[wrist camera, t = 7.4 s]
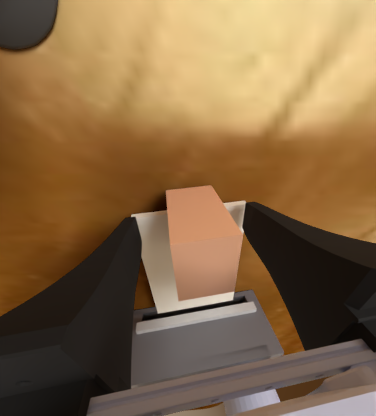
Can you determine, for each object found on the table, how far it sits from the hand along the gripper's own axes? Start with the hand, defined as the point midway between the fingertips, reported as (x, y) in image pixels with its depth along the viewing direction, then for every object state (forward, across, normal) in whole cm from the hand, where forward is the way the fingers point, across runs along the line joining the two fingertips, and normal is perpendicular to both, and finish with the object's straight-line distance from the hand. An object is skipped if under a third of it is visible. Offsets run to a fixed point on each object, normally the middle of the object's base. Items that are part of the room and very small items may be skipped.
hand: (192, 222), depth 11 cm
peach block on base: (+1, 0, +5) cm, 5 cm away
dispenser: (+2, 0, +16) cm, 17 cm away
